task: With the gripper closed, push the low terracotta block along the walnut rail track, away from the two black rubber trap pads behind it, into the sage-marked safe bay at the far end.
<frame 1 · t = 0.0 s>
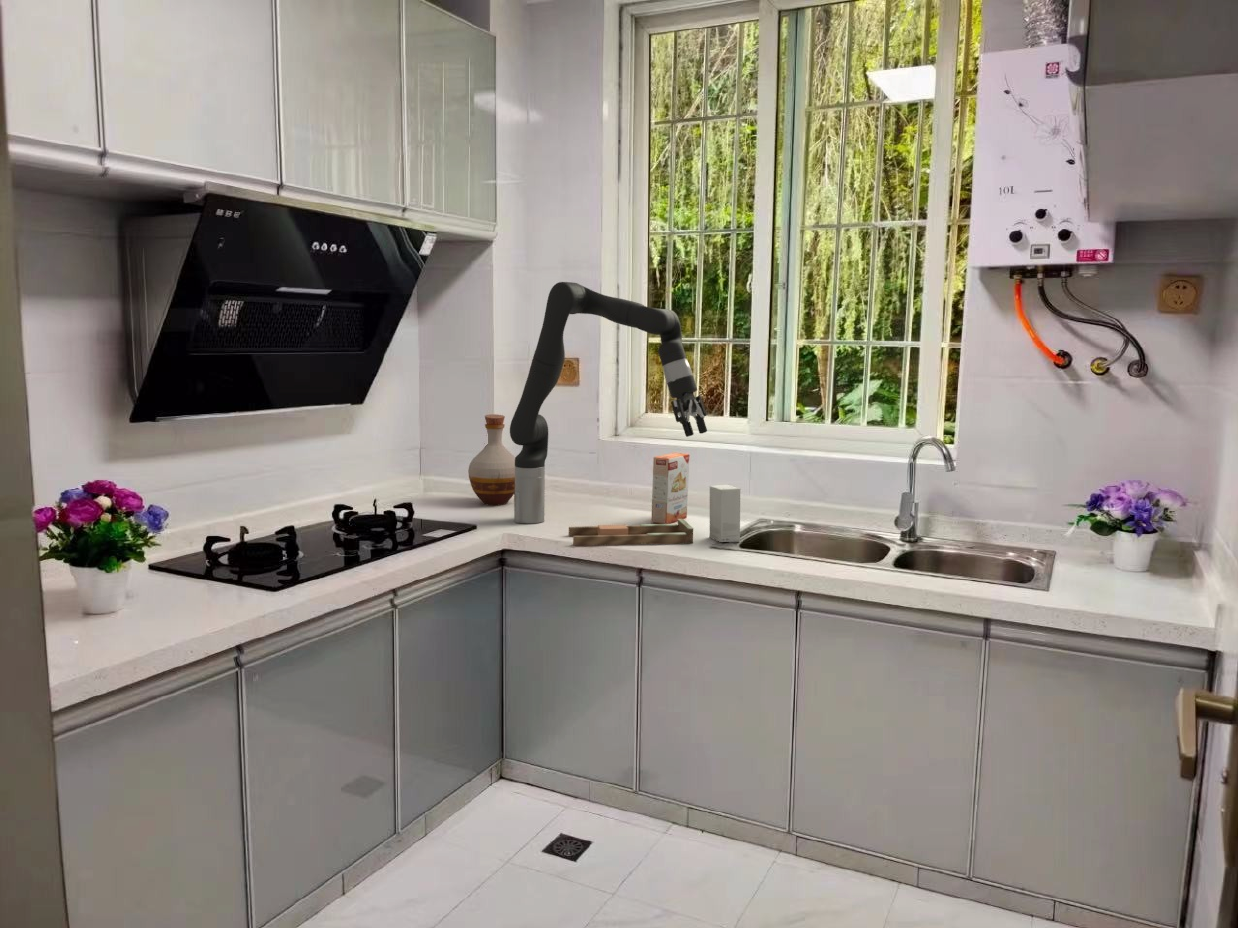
hand: (696, 434, 255), 31 cm above the worktop, tool tilted 20°, fingers open, 8 cm apart
cracker box: (669, 521, 293), on the worktop
skincare box: (723, 540, 268), on the worktop
jug: (494, 503, 316), on the worktop
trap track: (629, 539, 267), on the worktop
terracotta block: (612, 540, 266), resting in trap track
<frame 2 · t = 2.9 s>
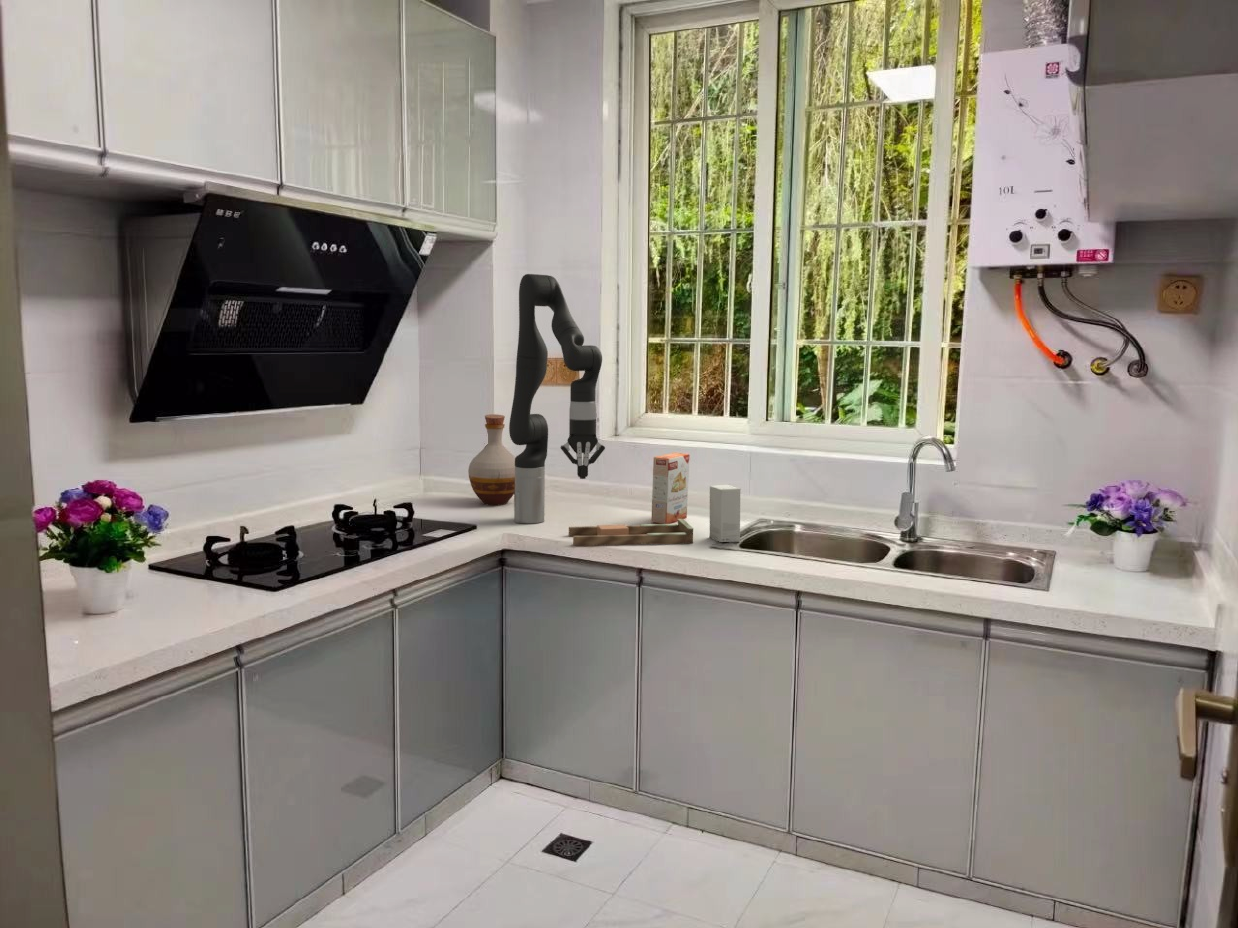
hand: (582, 478, 262), 18 cm above the worktop, tool pointing down, fingers closed
nothing on the worktop moved.
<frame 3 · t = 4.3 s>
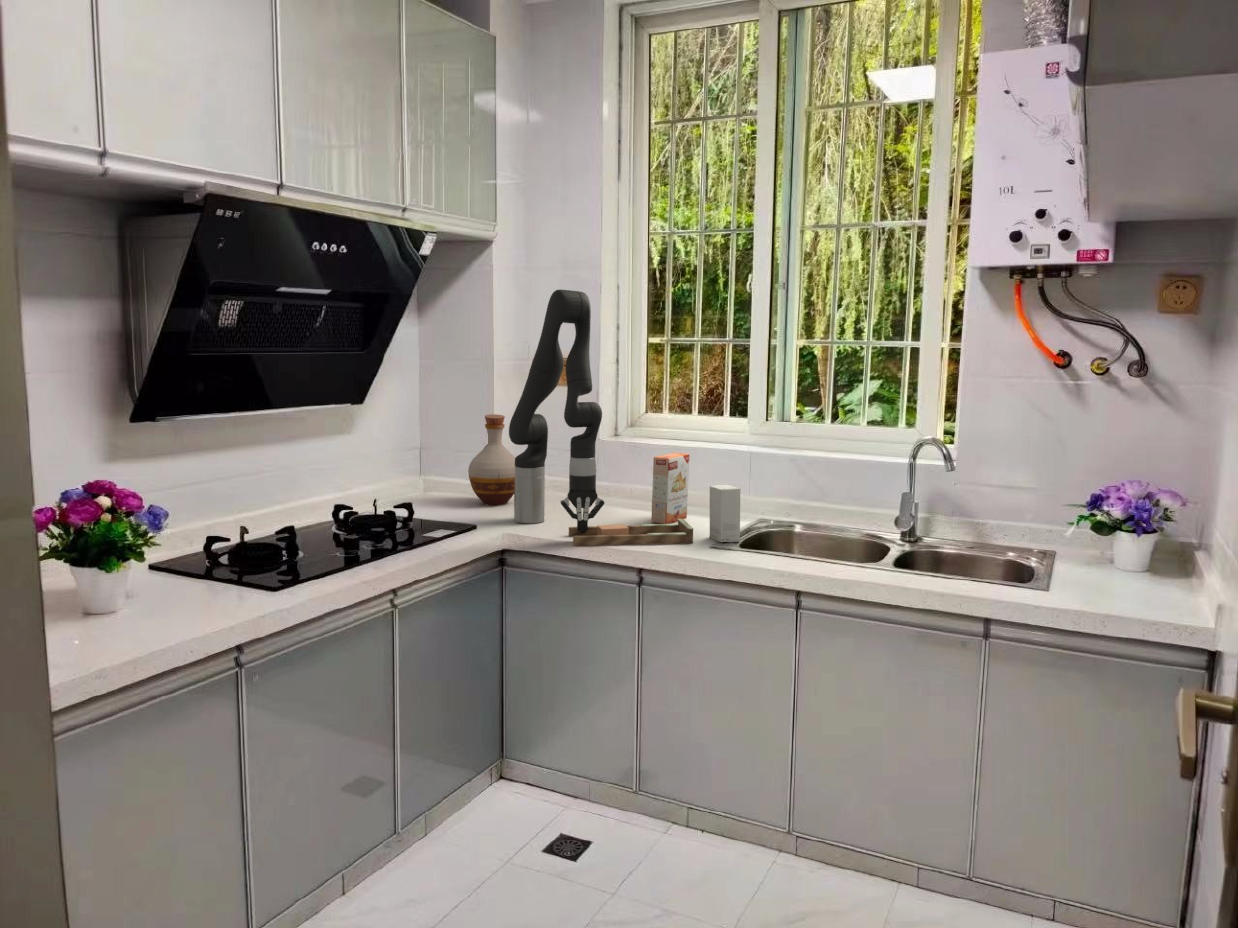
hand: (582, 532, 264), 2 cm above the worktop, tool pointing down, fingers closed
nothing on the worktop moved.
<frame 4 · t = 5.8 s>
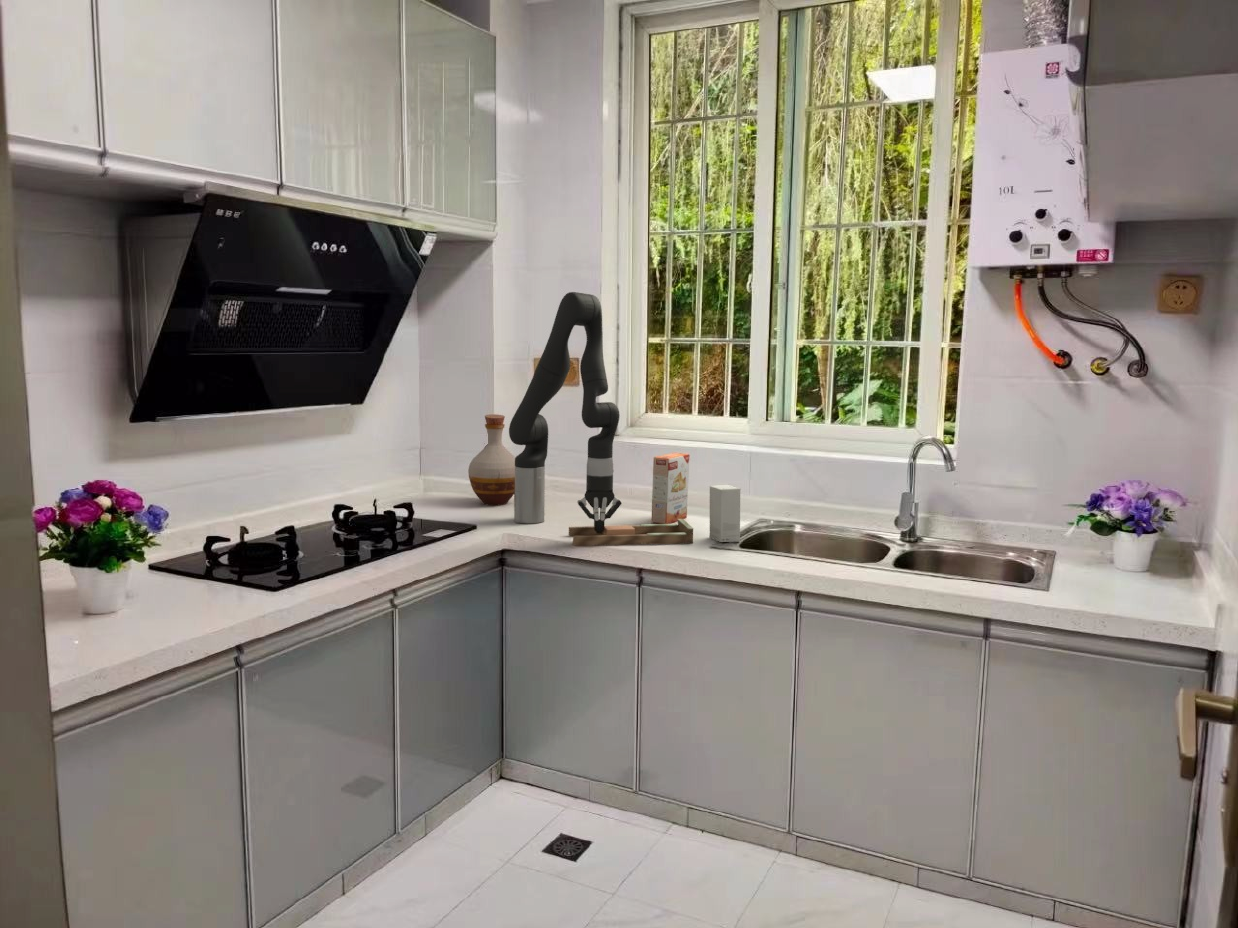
hand: (598, 532, 265), 2 cm above the worktop, tool pointing down, fingers closed
terracotta block: (619, 541, 266), resting in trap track
everything else where it was.
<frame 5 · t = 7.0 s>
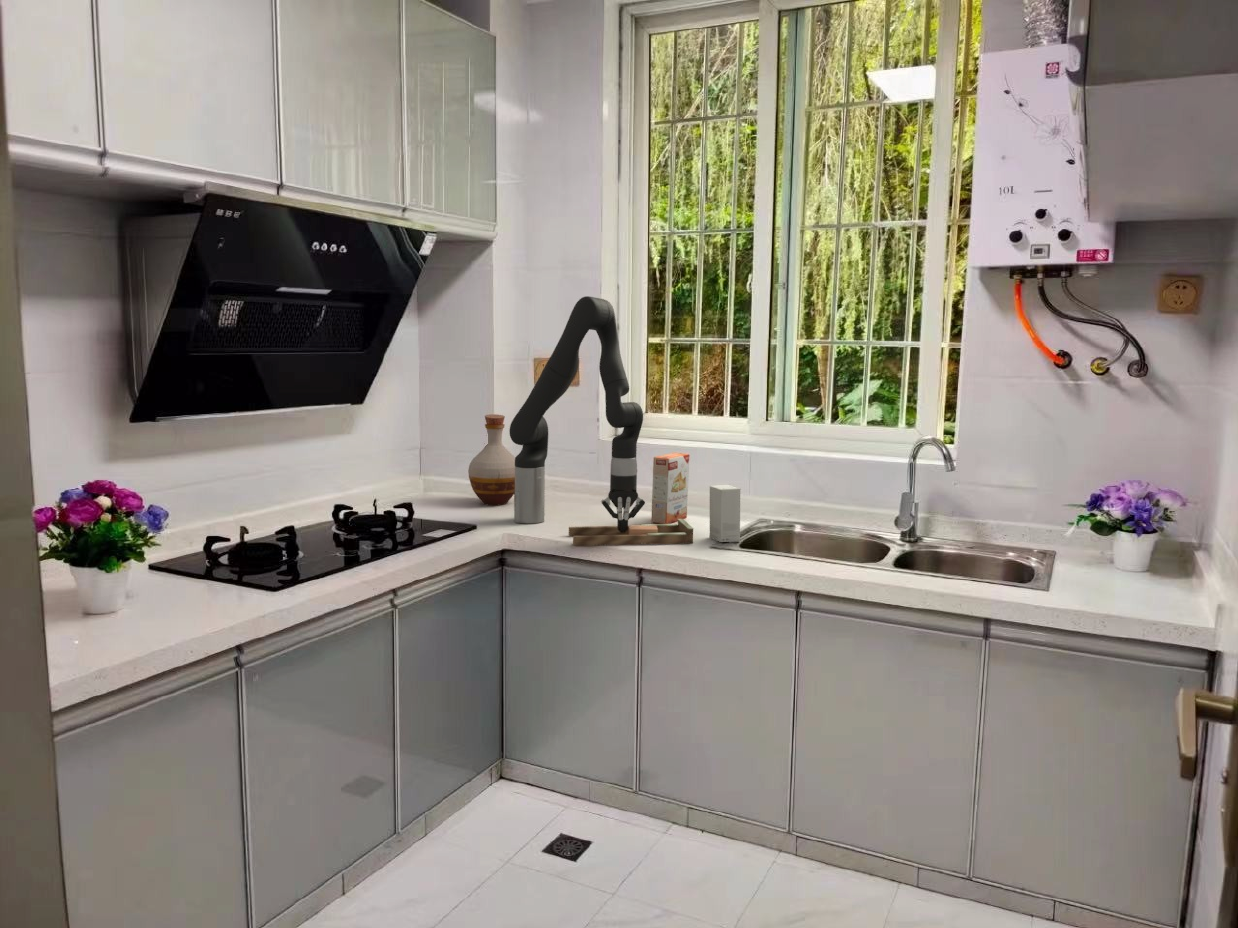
hand: (622, 532, 266), 2 cm above the worktop, tool pointing down, fingers closed
terracotta block: (642, 540, 265), resting in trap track, touching gripper
everything else where it was.
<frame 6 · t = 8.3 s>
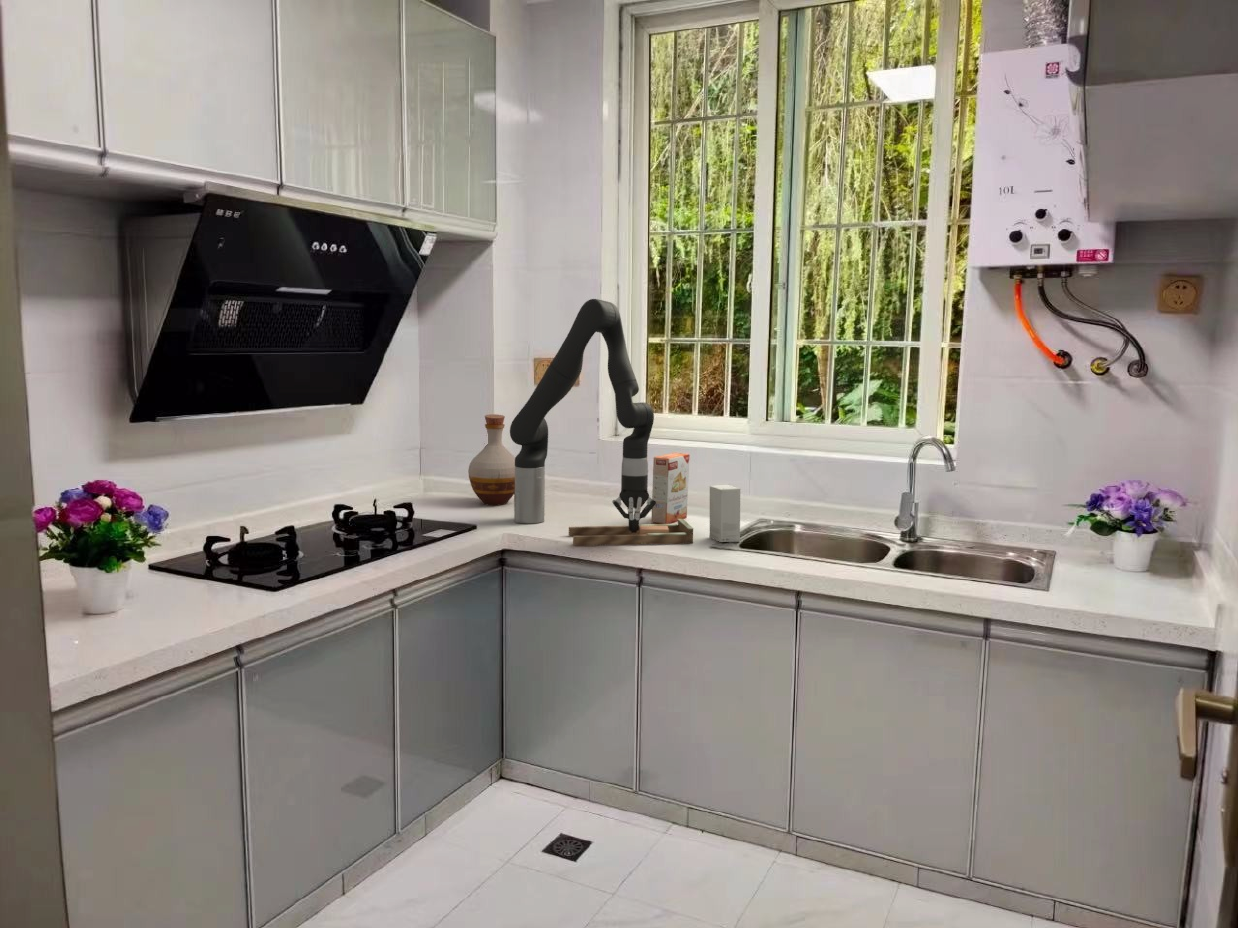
hand: (633, 532, 267), 2 cm above the worktop, tool pointing down, fingers closed
terracotta block: (653, 541, 266), resting in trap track
everything else where it was.
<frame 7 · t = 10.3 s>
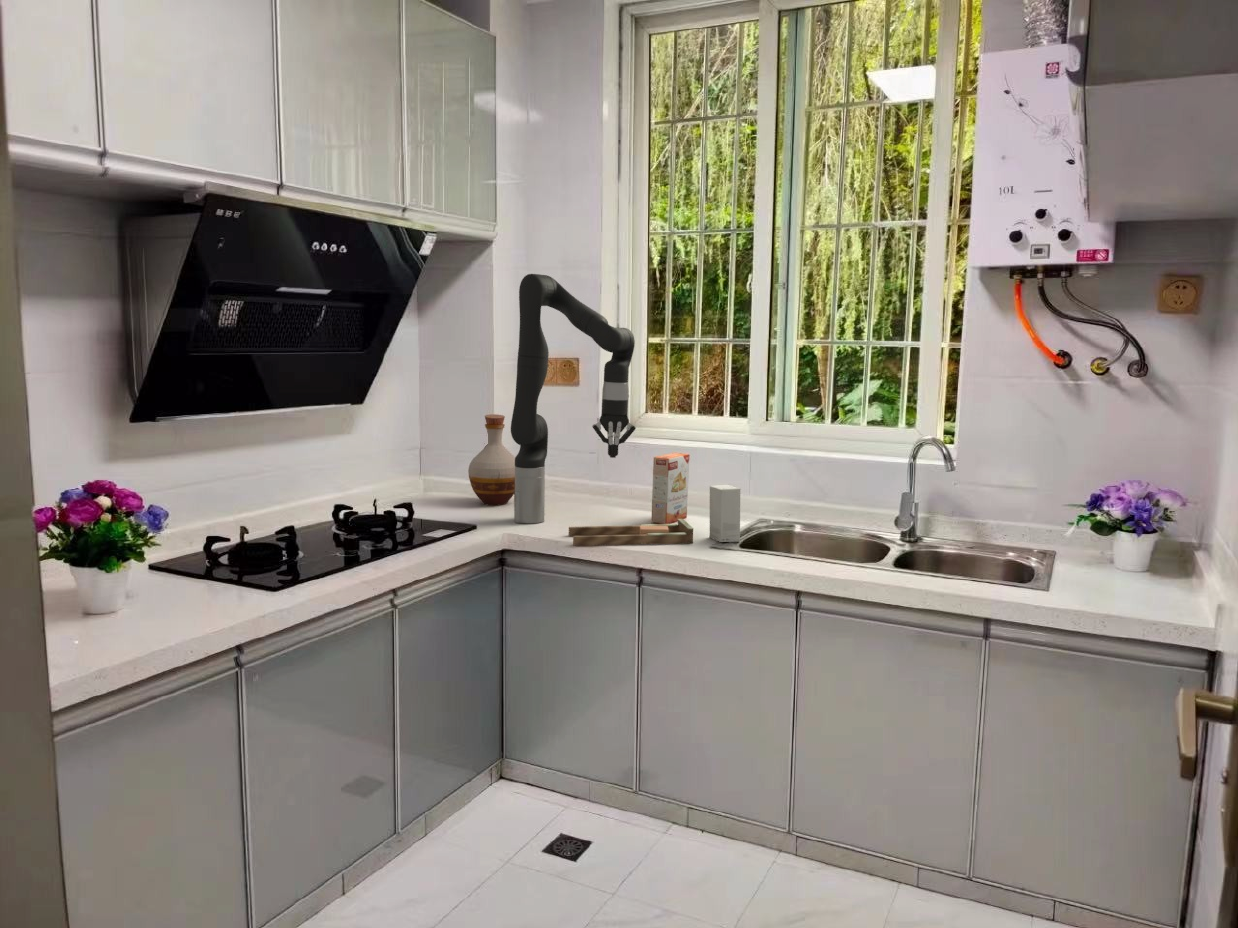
hand: (612, 457, 269), 23 cm above the worktop, tool pointing down, fingers closed
nothing on the worktop moved.
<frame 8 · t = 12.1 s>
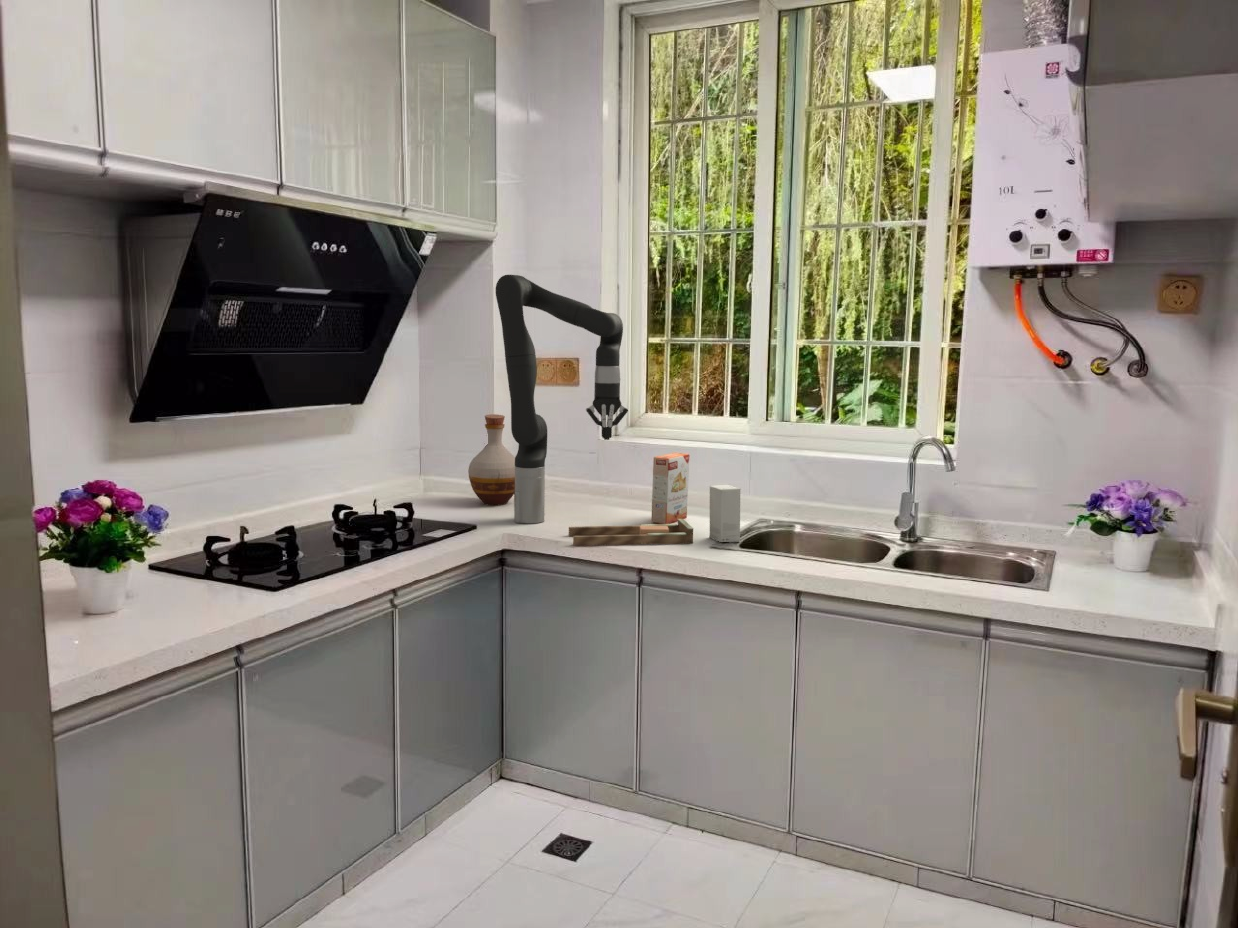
hand: (606, 439, 277), 27 cm above the worktop, tool pointing down, fingers closed
nothing on the worktop moved.
at the end: terracotta block inside the target area (2.4 cm from its centre), resting in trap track; terracotta block tilted 0° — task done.
